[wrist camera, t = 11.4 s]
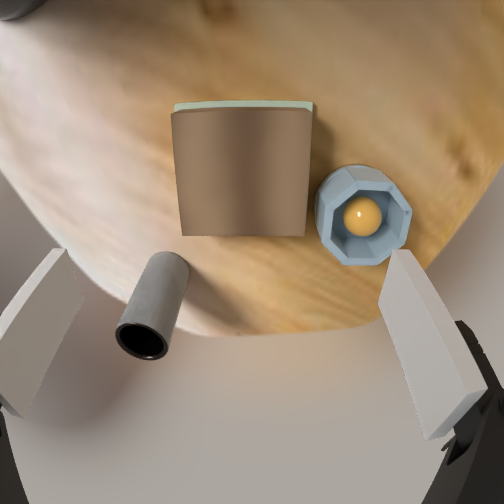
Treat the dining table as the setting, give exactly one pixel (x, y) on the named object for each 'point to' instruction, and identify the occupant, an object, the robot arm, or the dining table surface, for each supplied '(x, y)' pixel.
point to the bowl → (361, 215)
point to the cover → (242, 170)
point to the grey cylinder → (153, 307)
